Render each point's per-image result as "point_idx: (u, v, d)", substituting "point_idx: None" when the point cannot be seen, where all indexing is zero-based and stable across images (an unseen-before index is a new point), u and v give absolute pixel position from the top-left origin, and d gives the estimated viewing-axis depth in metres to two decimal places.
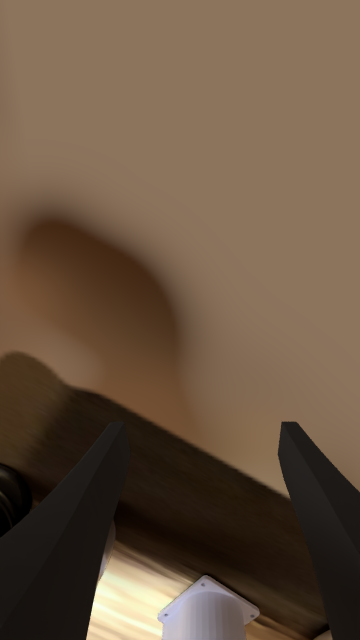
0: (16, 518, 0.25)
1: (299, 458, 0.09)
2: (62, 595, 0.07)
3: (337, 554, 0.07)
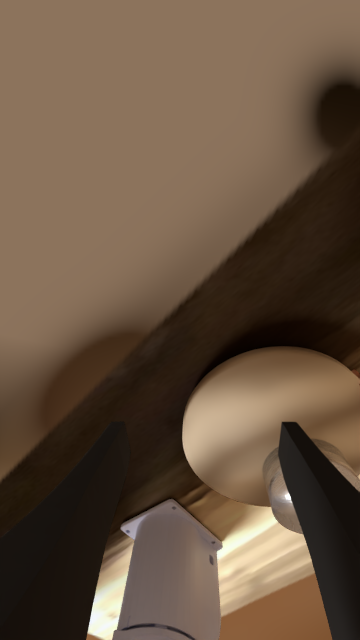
0: None
1: (299, 458, 0.09)
2: (62, 595, 0.07)
3: (337, 554, 0.07)
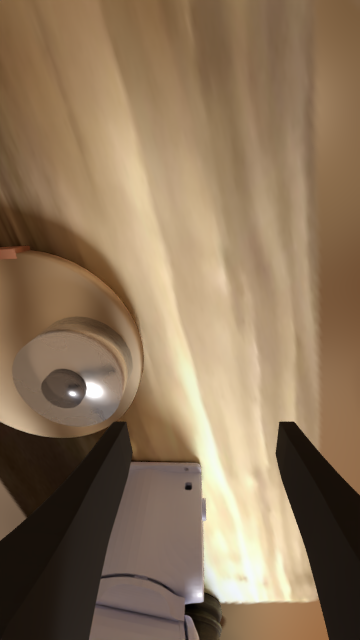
0: None
1: (296, 458, 0.09)
2: (65, 595, 0.07)
3: (333, 554, 0.07)
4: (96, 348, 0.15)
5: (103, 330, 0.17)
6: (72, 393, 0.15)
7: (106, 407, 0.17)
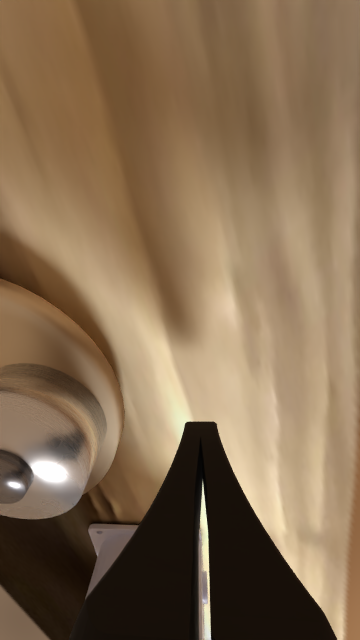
0: None
1: (203, 457, 0.09)
2: (194, 604, 0.06)
3: None
4: (41, 423, 0.10)
5: (60, 385, 0.12)
6: (9, 486, 0.10)
7: (65, 498, 0.11)
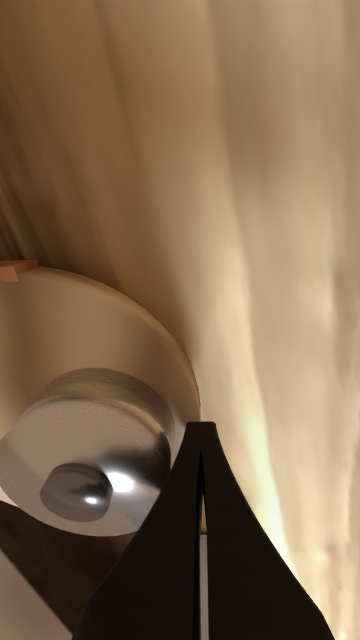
0: None
1: (201, 457, 0.10)
2: (197, 604, 0.06)
3: None
4: (131, 436, 0.09)
5: (137, 392, 0.11)
6: (91, 504, 0.09)
7: (143, 515, 0.10)
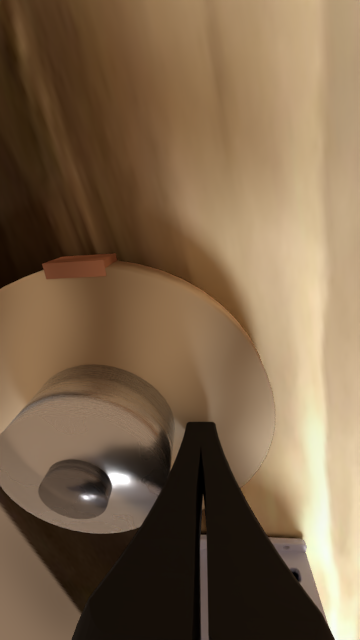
0: None
1: (201, 457, 0.10)
2: (197, 604, 0.06)
3: None
4: (134, 434, 0.09)
5: (139, 391, 0.11)
6: (89, 501, 0.09)
7: (140, 514, 0.10)
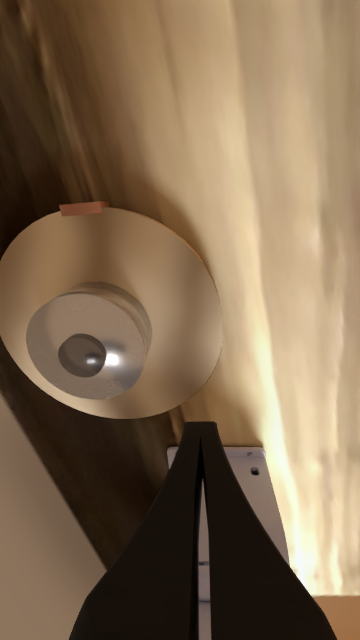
0: None
1: (203, 457, 0.09)
2: (194, 604, 0.06)
3: None
4: (120, 312, 0.14)
5: (125, 296, 0.16)
6: (91, 360, 0.14)
7: (126, 379, 0.15)
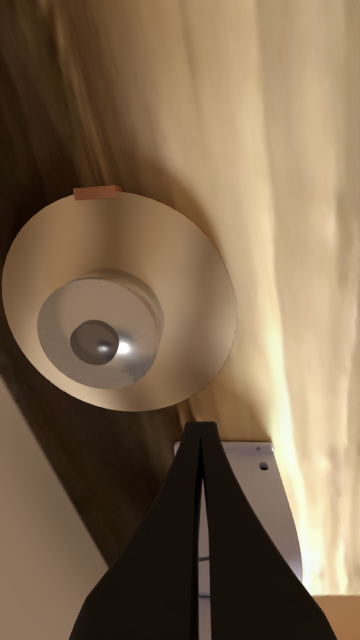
0: None
1: (203, 457, 0.09)
2: (194, 604, 0.06)
3: None
4: (134, 297, 0.13)
5: (138, 283, 0.15)
6: (104, 347, 0.14)
7: (138, 367, 0.15)
